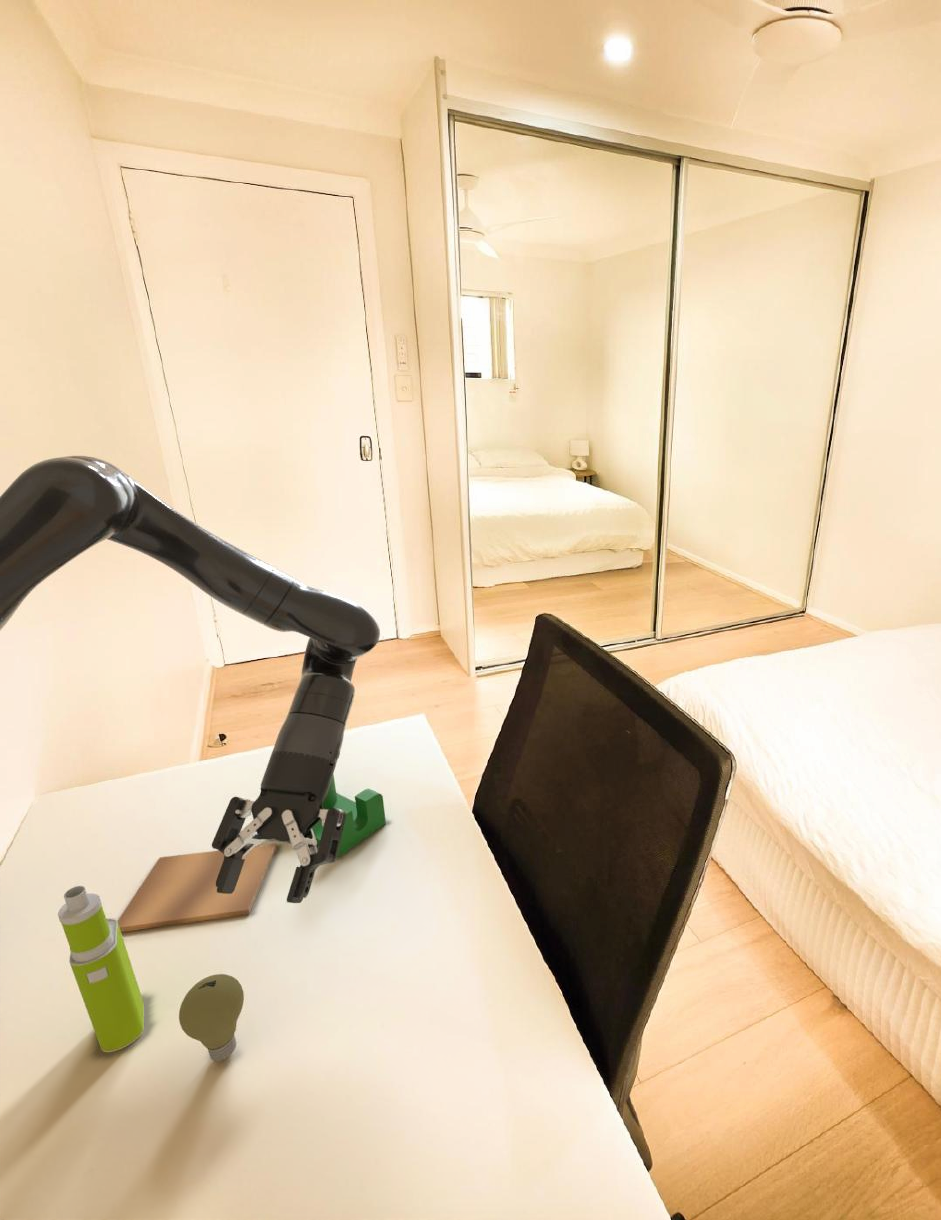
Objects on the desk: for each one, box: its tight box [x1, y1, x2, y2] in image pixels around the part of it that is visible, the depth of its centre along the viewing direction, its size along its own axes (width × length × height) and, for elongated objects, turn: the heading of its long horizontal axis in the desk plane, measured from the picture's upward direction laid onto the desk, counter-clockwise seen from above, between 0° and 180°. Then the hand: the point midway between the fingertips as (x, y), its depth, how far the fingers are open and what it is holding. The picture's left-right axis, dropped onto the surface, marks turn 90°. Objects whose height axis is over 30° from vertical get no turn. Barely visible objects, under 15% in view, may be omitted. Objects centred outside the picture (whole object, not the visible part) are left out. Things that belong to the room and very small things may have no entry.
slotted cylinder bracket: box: [312, 773, 386, 857], centre depth 99 cm, size 18×9×6 cm, turn 61°
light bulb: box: [178, 973, 245, 1062], centre depth 63 cm, size 6×6×10 cm
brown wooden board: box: [117, 843, 278, 933], centre depth 85 cm, size 16×13×1 cm
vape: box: [57, 885, 145, 1053], centre depth 63 cm, size 4×6×20 cm, turn 36°
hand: (259, 898), depth 68 cm, fingers open, 8 cm apart
